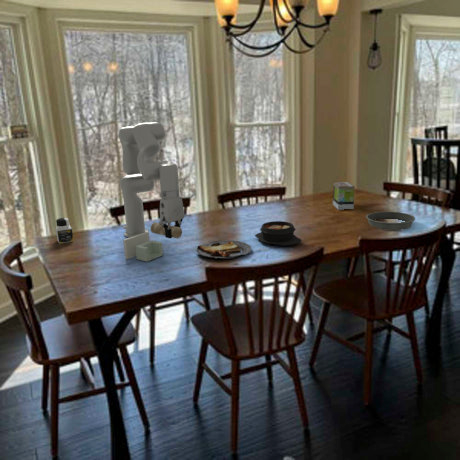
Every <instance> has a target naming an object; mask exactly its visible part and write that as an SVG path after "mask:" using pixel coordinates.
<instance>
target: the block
mask: <svg viewBox="0 0 460 460" xmlns="http://www.w3.org/2000/svg"><path fill="white" fill-rule="evenodd" d="M163 250H164V249H163V242H161V241H157V240H154V239H153V240H149V242H146V243H143V244H140V245H138V246H136V256H135V257H136V259H137V260H140V261H142V262H143V261H144V262H149V261H152V260H154V259H157V258H159V257H161V256H164V251H163Z"/></svg>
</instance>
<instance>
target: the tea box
mask: <svg viewBox="0 0 460 460" xmlns="http://www.w3.org/2000/svg"><path fill="white" fill-rule="evenodd" d="M355 188H356V187H355V185H354V184H353V183H351V182H349V181H340V182H339V181H338V182H333V193H332V205H333V206H334V208H335V209H337V211H345V210H344V209H353V210H354V208H355V207H354V206H355Z"/></svg>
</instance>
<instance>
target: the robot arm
mask: <svg viewBox="0 0 460 460" xmlns="http://www.w3.org/2000/svg"><path fill="white" fill-rule="evenodd" d="M165 129H166V128H165V127H164V126H163V124H162V123H161V122H156V121H153V122H141V123H137V124H136V125H134V126H125V127H121V128H120V129H119V131H118V138H119V142H120V145H121V146H122V169H123V172H124V173H125V174H126V176H123V177H121V179H120V181H119V186H120V191H121V194H122V198H123V207H124V215H125V225H124V226H123V227H122V228H123V230H125V232H124V233H123V235H124V237H126V238H130V237H133V236H136V235H139V234H142V233H145V232H149V230H147V229H146V227H145V226H146V224H145V216H144V215H145V214H144V213H145V211H144V205H143V200H142V198H141V197H140V196H139V195H138V194H139V193H148V192H151V191H153V190H154V189H155V182H156V181H159V185H160V187H159V188H160V193H159V195H160V202H159V215H160V219H159V221H158V223H159V224H160V225H161V226H162V227H163V228H164V229H165V236H164V237H165V238H166V239H172V238H173V237H172V232H171V229H170V225H171V223H174V224H173V226H176V227H180V228H181V226H182V222H183V220H184V219H185V217H186V216H185V210H184V203H183V198H182V195H180V184H179V169H178V165H177V164H176V163H174V162H172V161H171V160H160V161H159V160H158V161H155V158H154V157H155V156H156V155H157V154H158V153H159V152H160V150H161V146H160V142H162V141H163V140H164V139H165V138H166V130H165ZM167 225H168V226H167ZM171 226H172V225H171Z"/></svg>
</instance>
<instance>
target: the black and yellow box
mask: <svg viewBox="0 0 460 460" xmlns="http://www.w3.org/2000/svg"><path fill="white" fill-rule="evenodd" d="M55 222H56V227H55V233H56V240H57V242H58V244H65V243H72V242H74V234H73V229H72V226H71V225H70V220H69V218H67V217H59V218H57V219H56V220H55Z"/></svg>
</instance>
